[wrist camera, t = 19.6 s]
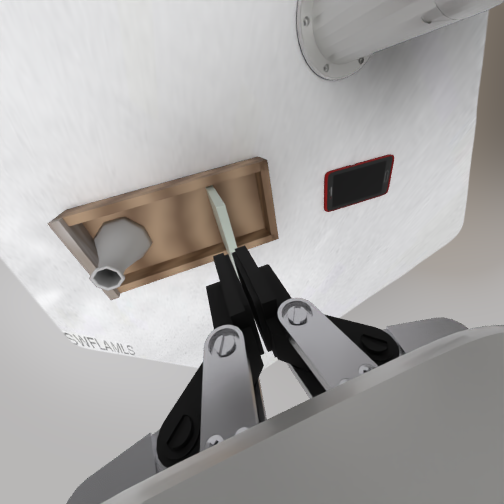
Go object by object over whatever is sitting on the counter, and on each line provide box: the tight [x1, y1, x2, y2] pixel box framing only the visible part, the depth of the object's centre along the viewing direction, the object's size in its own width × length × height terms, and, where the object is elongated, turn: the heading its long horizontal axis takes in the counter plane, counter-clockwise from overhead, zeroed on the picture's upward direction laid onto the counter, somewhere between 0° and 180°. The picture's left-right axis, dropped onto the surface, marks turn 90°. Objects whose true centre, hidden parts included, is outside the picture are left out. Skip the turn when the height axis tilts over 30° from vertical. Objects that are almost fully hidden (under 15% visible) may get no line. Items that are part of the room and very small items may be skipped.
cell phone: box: [324, 155, 394, 212], centre depth 41 cm, size 8×15×1 cm, turn 100°
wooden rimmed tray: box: [48, 157, 279, 300], centre depth 32 cm, size 28×13×5 cm, turn 102°
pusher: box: [205, 185, 239, 278], centre depth 29 cm, size 1×10×11 cm, turn 12°
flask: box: [89, 217, 152, 291], centre depth 28 cm, size 7×7×10 cm
